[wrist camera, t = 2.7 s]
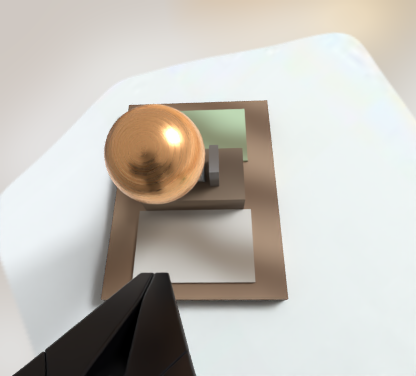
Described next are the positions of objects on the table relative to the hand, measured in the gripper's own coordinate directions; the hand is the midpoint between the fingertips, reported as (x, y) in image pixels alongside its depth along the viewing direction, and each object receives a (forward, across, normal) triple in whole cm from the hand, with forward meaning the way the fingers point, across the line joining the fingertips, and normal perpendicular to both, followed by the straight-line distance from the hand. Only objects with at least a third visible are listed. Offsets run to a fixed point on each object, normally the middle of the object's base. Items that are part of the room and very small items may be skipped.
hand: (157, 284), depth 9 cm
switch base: (+14, 0, +2) cm, 15 cm away
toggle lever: (+12, 0, 0) cm, 12 cm away
